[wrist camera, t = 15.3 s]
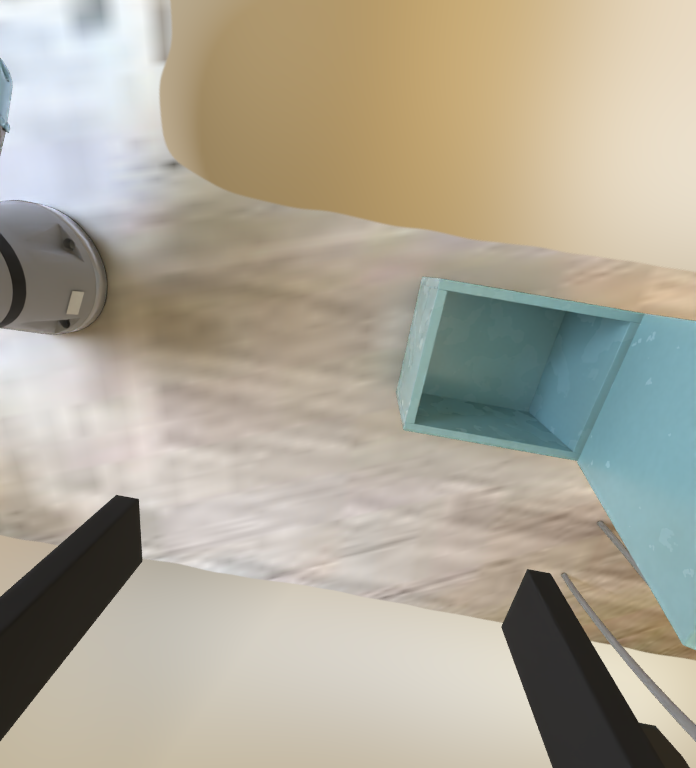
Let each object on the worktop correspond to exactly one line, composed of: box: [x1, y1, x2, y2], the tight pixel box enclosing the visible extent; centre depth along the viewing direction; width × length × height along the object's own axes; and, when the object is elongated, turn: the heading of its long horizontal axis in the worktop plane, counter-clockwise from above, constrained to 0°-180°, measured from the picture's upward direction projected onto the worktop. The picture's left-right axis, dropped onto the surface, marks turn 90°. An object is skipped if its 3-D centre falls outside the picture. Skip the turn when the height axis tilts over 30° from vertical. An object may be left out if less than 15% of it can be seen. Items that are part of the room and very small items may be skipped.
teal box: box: [396, 277, 644, 461], centre depth 36 cm, size 18×15×11 cm
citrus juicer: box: [561, 521, 696, 741], centre depth 35 cm, size 11×10×30 cm
